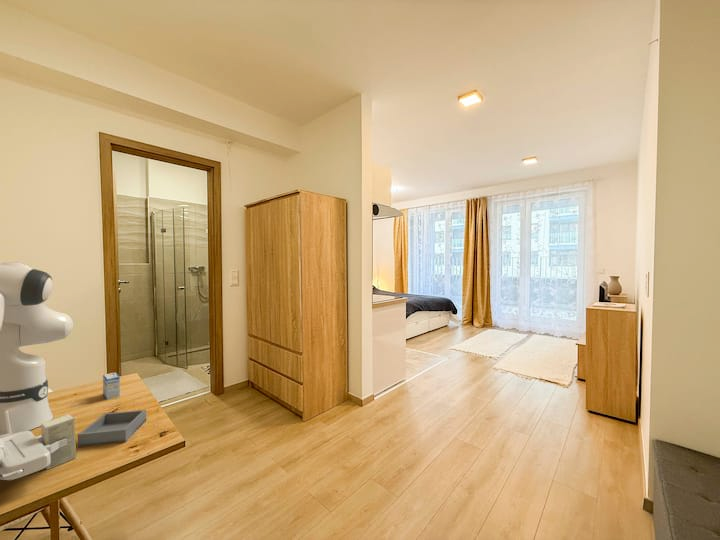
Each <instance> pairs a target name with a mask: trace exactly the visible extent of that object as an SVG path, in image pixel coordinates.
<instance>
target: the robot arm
mask: <svg viewBox="0 0 720 540" xmlns="http://www.w3.org/2000/svg"><path fill="white" fill-rule="evenodd" d="M53 289H54V282H53V277H52V276H51V275H50V274H49V273H48V272H46V271H43V270H41V269H36V268H35V269H34V268H32V267H31V266H30V265H27V264H25V263H23V262H22V263H21V262H14V261H13V262H12V261H9V262H2V263H0V481H1V480H3V481H5V480H6V481H12V480H15V479H16V480H17V479H20V478H22V477H24V476H25V477H26V476H27V475H30V474H33V473H36V472H39V471H40V470H43V469H46V468H45V467H47V466H48V465H49V464H50V462H51V457H50V454H51V453H53V452H54V451H56V450H57V449H59V448H60V447H63V446H65V445H67V439H66V438H62V439H59V440H57V442H55V443H53V444H51V445H50V444H49V445H46V446H44V445H43V444H42V434H40V435H37V436H35V434H34V433H33V432H32V431H31V430H34V429H37V428H38V427H41V423H44V422H47V421H50V420H53V419H54V415H53V413H52V410H51V407H50V403H49V399H48V392H49V383H48V382H49V381H48V379H47V373H46V372H47V370H46V369H47V367H46V360H45V359H44V358H43V357H42V356H39V355H38V354H32V353H31V354H30V353H27V352H26V353H25V352H23V351H21V349H20V348H21V347H27V346H34V345H35V346H36V345H41V344H42V345H43V344H49V343H53V342H57V341H60V340H64V339H67V338H68V337H69V336H70V335H71V333H72V332H73V329H74V321H73V318H72V317H71V316H70V315H69V314H67V313H65V312H60V311H57V310H54V309H51V308H50V307H48V306H47V305H45V303H44V302H46V301H47V300H48V299H49V297H50V295H51V294H52V292H53Z"/></svg>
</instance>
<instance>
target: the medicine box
mask: <svg viewBox="0 0 720 540" xmlns="http://www.w3.org/2000/svg"><path fill="white" fill-rule="evenodd" d="M102 380H103V381H102V394H103V396H104V397H105V399H106V400H112V399H114V398H113V397H116V398H118V397H117V396H119V397H121V377H120V376H119V374H118V373H117V372H110V373H106V374H103V376H102ZM111 398H112V399H111Z"/></svg>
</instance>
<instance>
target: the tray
mask: <svg viewBox="0 0 720 540" xmlns="http://www.w3.org/2000/svg"><path fill="white" fill-rule="evenodd" d="M146 421H147V409H138V410H129V411H128V410H127V411H117V412H106V413H103V414H102V415H100V417H98V418H97V419H95V420H94V421H93V422H92V423H90V424H89V425H88V426H86V427H85V428H84V429H82V431H80V432H79V433H78V434H77V448H81V447H82V448H84V447H85V448H86V447H92V446H100V445H101V446H102V445H110V444H112V445H113V444H120V443H127V441H128V440H129V439H130V438H132V436H133V435H134V434H135V433H136V432H137V431H138V430H139V429H140V428H141V427H142V426H143V424H145V423H146Z"/></svg>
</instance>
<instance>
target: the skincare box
mask: <svg viewBox="0 0 720 540" xmlns="http://www.w3.org/2000/svg"><path fill="white" fill-rule="evenodd" d="M75 421H76V420H75V417H74V416H73V414H71V413H68V414H65V415H61V416H59V417H56V418H52V419H51V420H50V421H47V422H44V423H41V426H40V427H41V435H42V444H43V445H44V446H46V445H49V444H50V445H51V444H53V443H55V442H57V440H59V439H62V438H66V439H67V445H65V446H63V447H60V448H59V449H57V450H56V451H54V452H53V453H51V454H50V457H51V462H50V464H49V465H48V466H47V467H45V468H44V469H45V470H47V471H48V470H50V469H53V468H54V467H57V466H60V465H62V464H64V463H66V462H70V461H72V460H74V459H76V458H77V448H76V447H77V446H76V445H77V444H76V424H75V423H76V422H75Z"/></svg>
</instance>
